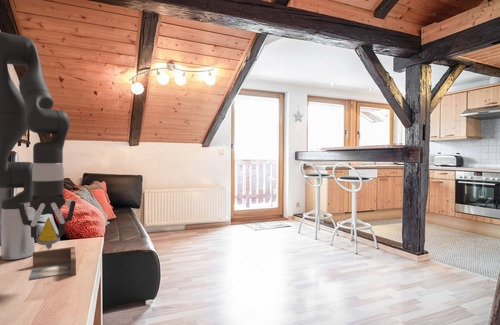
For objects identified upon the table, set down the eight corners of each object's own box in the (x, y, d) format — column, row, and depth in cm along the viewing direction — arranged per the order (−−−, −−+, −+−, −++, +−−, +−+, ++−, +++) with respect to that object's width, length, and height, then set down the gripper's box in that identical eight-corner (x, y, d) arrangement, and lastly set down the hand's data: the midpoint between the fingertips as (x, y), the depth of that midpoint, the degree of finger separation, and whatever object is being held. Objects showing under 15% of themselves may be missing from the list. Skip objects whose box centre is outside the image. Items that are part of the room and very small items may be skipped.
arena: (33, 267, 98) (33, 251, 98) (74, 261, 104) (74, 246, 104) (28, 283, 85) (28, 266, 85) (75, 275, 91) (75, 259, 91)
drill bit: (55, 243, 90) (55, 212, 88) (61, 250, 87) (62, 218, 85) (33, 248, 86) (34, 215, 84) (40, 256, 83) (40, 222, 81)
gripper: (14, 180, 79) (15, 244, 80) (77, 179, 87) (77, 237, 87) (18, 178, 86) (18, 237, 86) (76, 177, 93) (76, 231, 94)
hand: (48, 237), depth 87 cm, fingers closed on drill bit, 5 cm apart
